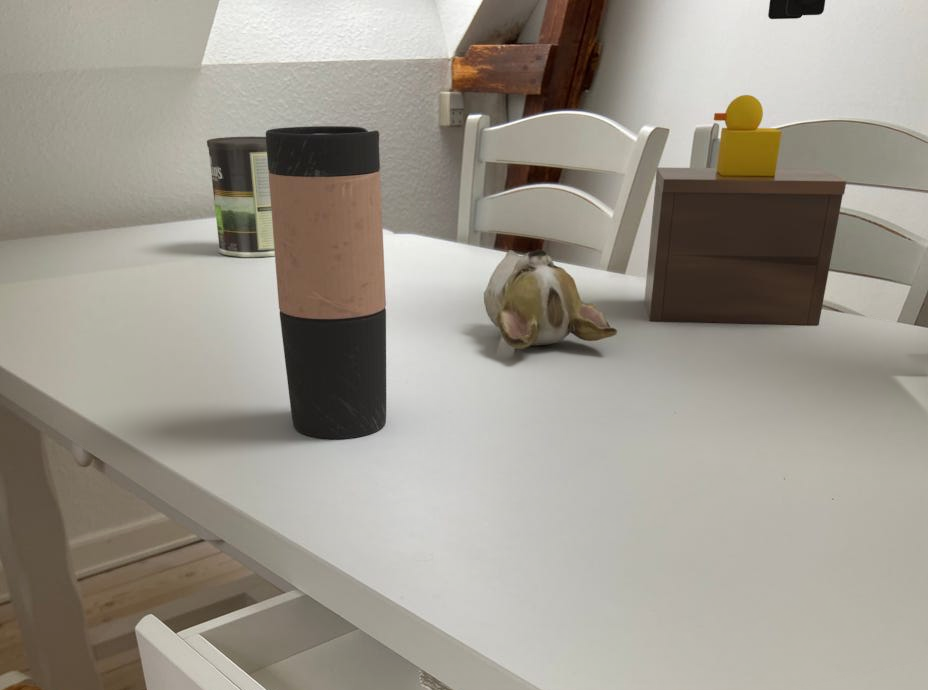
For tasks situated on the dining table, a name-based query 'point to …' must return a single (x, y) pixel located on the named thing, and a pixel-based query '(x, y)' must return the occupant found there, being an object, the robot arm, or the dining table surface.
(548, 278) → the ceramic sculpture
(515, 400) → the dining table surface
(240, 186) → the coffee can
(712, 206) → the wooden nightstand cabinet
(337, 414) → the travel mug
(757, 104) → the duck
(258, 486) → the dining table surface
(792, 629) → the dining table surface
